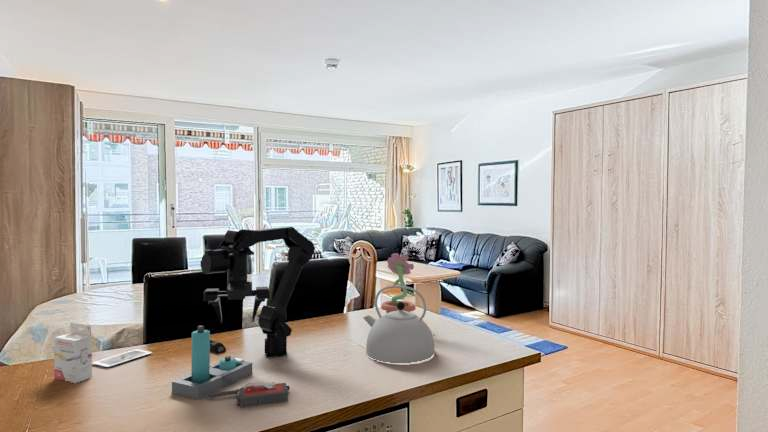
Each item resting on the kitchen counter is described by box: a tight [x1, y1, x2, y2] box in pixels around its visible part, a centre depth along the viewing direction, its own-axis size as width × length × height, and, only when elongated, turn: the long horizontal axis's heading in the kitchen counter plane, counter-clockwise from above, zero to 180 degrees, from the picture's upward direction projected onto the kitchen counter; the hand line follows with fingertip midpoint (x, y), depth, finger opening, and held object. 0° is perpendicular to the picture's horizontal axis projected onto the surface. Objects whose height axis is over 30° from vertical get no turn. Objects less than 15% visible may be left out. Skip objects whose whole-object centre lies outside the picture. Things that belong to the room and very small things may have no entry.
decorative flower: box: [380, 252, 417, 314], centre depth 181 cm, size 15×14×30 cm
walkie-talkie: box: [207, 381, 290, 409], centre depth 113 cm, size 9×4×20 cm
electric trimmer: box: [210, 339, 227, 355], centre depth 153 cm, size 4×16×3 cm, turn 49°
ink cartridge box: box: [53, 322, 93, 384], centre depth 125 cm, size 9×5×15 cm, turn 71°
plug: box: [190, 325, 211, 384], centre depth 118 cm, size 4×4×16 cm
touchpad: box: [92, 348, 154, 368], centre depth 141 cm, size 8×15×2 cm, turn 155°
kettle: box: [362, 285, 435, 363], centre depth 150 cm, size 25×23×22 cm
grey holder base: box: [171, 355, 253, 400], centre depth 123 cm, size 20×9×6 cm, turn 156°
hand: (237, 322), depth 137 cm, fingers open, 9 cm apart
